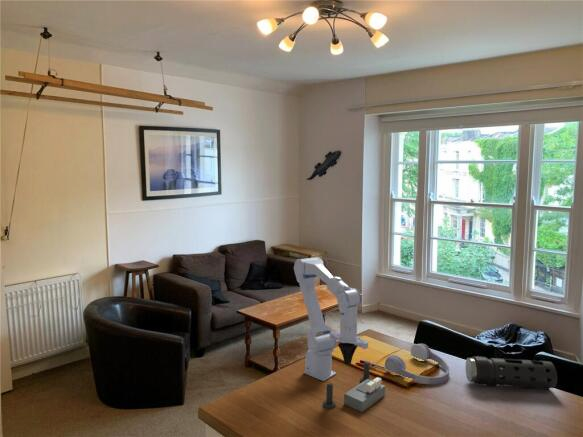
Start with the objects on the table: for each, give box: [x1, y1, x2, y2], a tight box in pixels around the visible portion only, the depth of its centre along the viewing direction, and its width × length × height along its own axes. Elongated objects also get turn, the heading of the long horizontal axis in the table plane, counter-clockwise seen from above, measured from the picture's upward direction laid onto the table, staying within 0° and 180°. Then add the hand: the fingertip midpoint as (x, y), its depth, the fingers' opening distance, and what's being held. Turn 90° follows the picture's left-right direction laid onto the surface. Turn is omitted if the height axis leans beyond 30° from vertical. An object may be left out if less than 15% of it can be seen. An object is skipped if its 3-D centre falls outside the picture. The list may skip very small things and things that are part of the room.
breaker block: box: [343, 376, 386, 413], centre depth 145 cm, size 7×14×6 cm, turn 138°
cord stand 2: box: [360, 361, 373, 383], centre depth 157 cm, size 4×4×7 cm
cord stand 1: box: [322, 383, 336, 410], centre depth 141 cm, size 4×4×7 cm
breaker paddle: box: [366, 380, 375, 393], centre depth 143 cm, size 2×3×2 cm, turn 138°
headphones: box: [384, 343, 450, 385], centre depth 166 cm, size 22×7×20 cm
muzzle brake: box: [465, 355, 558, 391], centre depth 155 cm, size 10×28×10 cm, turn 84°
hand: (347, 363), depth 149 cm, fingers closed
